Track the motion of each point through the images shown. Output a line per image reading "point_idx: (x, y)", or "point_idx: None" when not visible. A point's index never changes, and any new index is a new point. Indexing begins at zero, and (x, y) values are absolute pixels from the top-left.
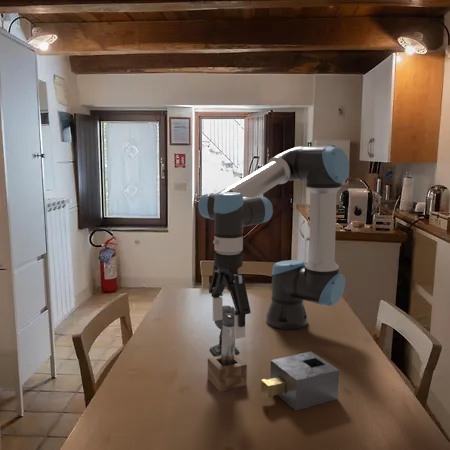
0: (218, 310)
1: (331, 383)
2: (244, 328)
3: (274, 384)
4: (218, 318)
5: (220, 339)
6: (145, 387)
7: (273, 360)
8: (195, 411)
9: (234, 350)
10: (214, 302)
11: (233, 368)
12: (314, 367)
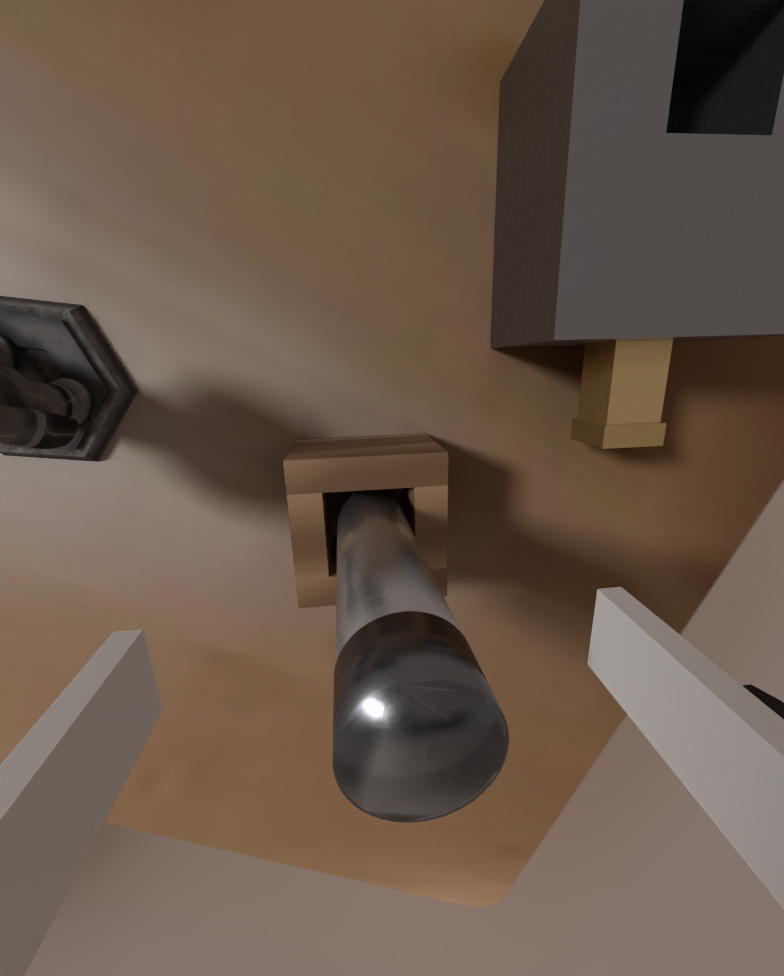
0: (92, 763)
1: None
2: (680, 644)
3: (660, 407)
4: (144, 680)
5: (33, 445)
6: (298, 758)
7: (565, 325)
8: (503, 654)
9: (405, 527)
10: (22, 969)
11: (445, 525)
12: (777, 111)
